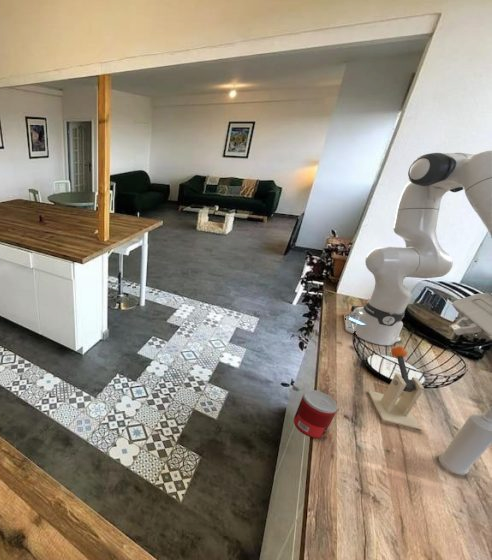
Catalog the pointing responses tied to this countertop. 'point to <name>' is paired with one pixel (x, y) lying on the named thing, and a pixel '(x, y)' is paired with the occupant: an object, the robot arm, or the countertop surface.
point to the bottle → (468, 443)
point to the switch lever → (403, 367)
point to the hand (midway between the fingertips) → (452, 330)
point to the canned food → (315, 413)
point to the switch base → (398, 402)
